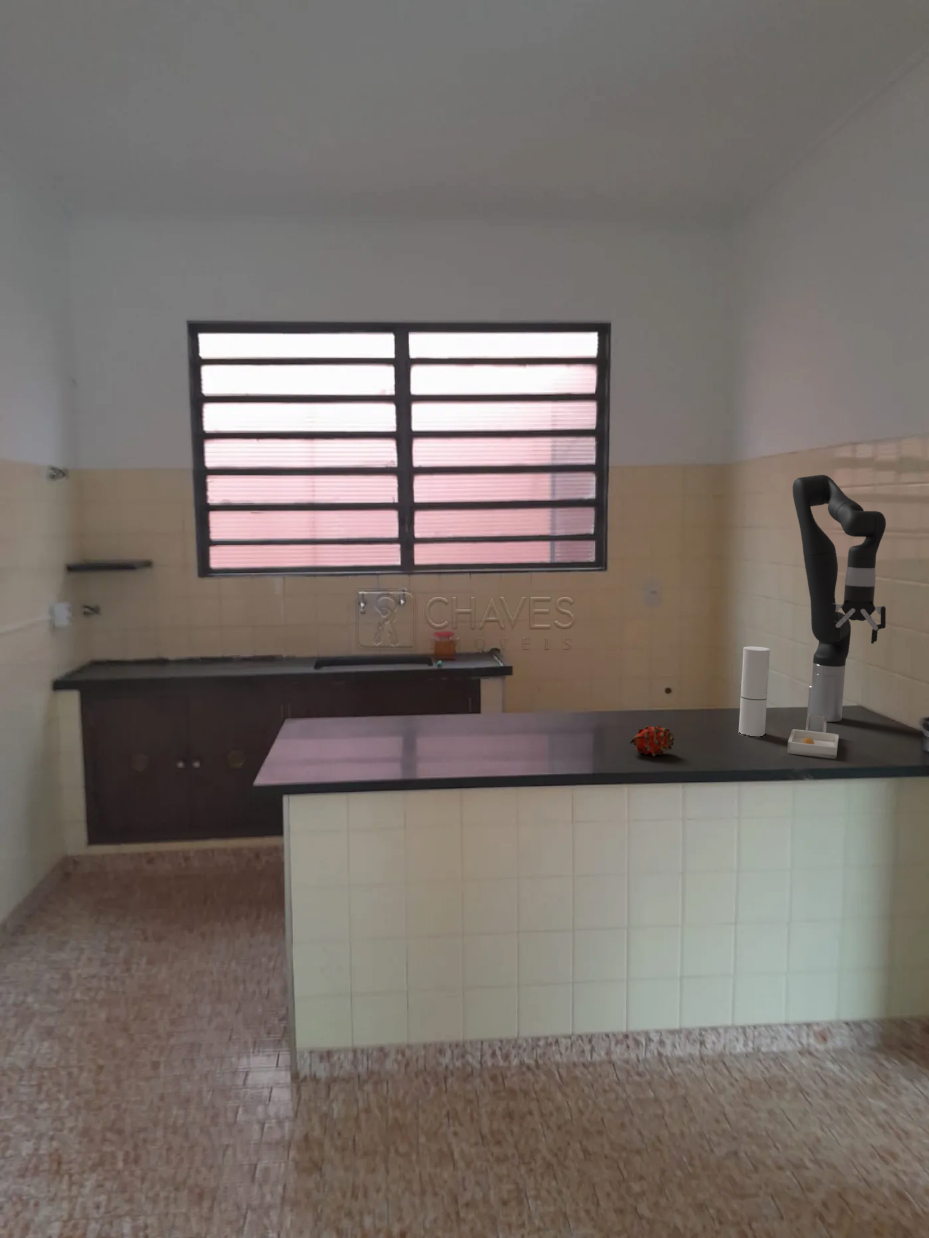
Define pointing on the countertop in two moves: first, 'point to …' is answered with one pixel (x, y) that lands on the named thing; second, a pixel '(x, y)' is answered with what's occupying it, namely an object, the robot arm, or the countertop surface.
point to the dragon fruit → (653, 740)
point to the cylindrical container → (754, 690)
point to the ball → (808, 740)
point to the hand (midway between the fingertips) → (855, 642)
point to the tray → (822, 745)
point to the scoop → (816, 723)
